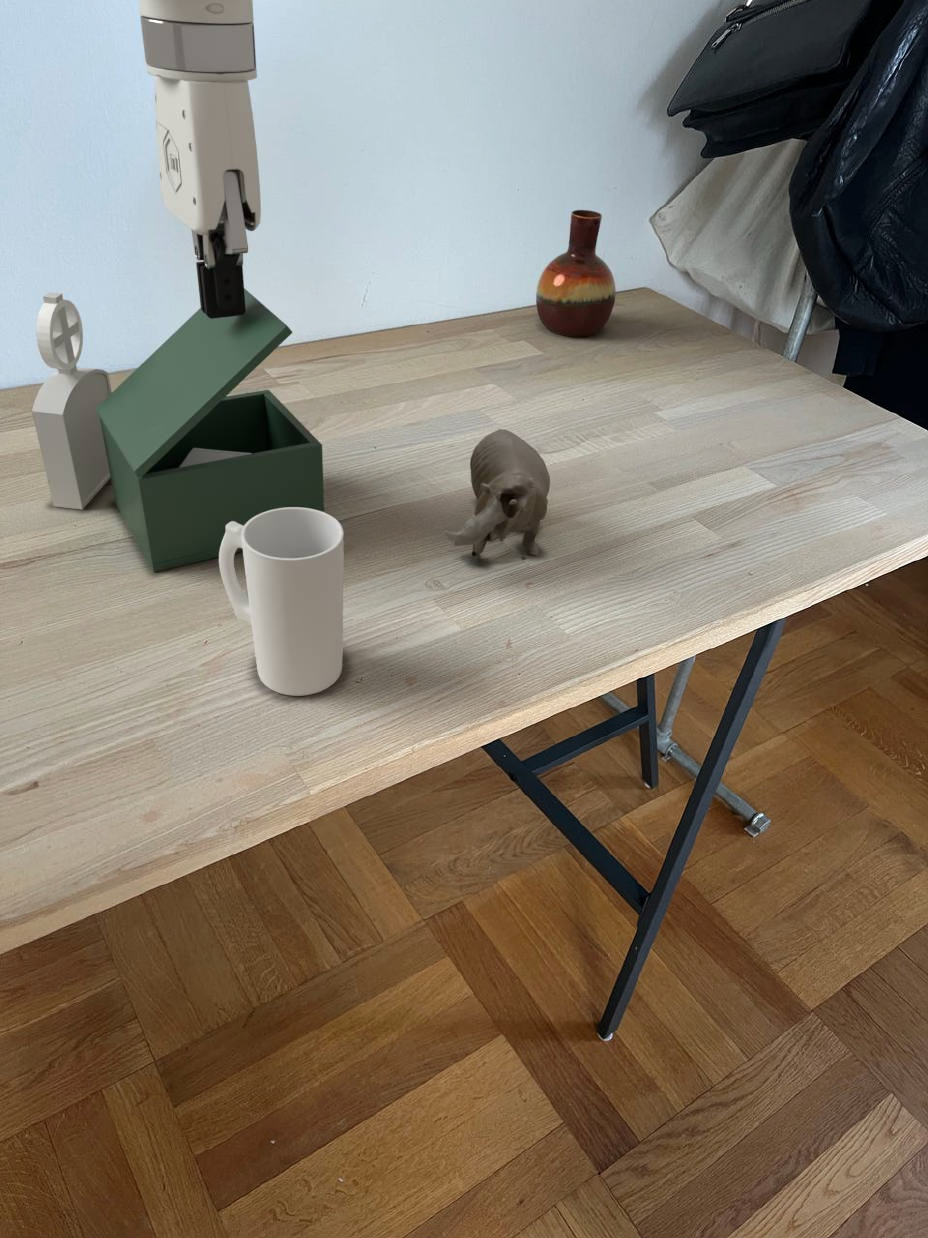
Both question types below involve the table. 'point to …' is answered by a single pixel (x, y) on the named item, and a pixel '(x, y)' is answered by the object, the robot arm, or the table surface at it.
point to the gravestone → (69, 408)
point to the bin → (218, 479)
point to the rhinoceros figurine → (505, 493)
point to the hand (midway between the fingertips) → (223, 313)
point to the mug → (290, 595)
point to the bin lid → (187, 380)
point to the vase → (577, 283)
